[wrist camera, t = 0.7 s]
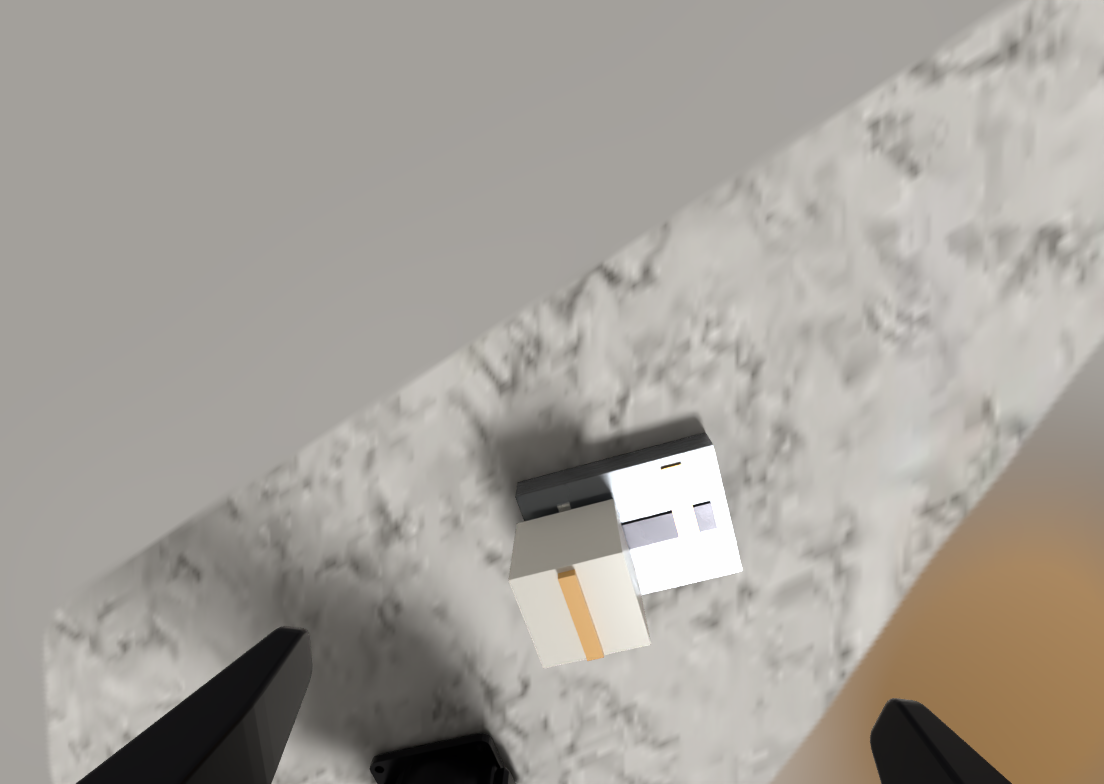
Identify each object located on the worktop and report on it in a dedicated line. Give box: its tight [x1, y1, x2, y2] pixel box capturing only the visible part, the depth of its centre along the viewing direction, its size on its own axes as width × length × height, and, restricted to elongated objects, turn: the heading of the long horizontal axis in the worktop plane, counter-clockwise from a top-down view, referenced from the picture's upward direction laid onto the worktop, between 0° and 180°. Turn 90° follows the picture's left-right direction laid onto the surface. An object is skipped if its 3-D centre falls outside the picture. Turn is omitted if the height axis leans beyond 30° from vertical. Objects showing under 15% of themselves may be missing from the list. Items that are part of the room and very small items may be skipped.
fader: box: [508, 499, 651, 669], centre depth 20 cm, size 4×4×4 cm
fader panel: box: [516, 433, 743, 595], centre depth 23 cm, size 8×6×1 cm
